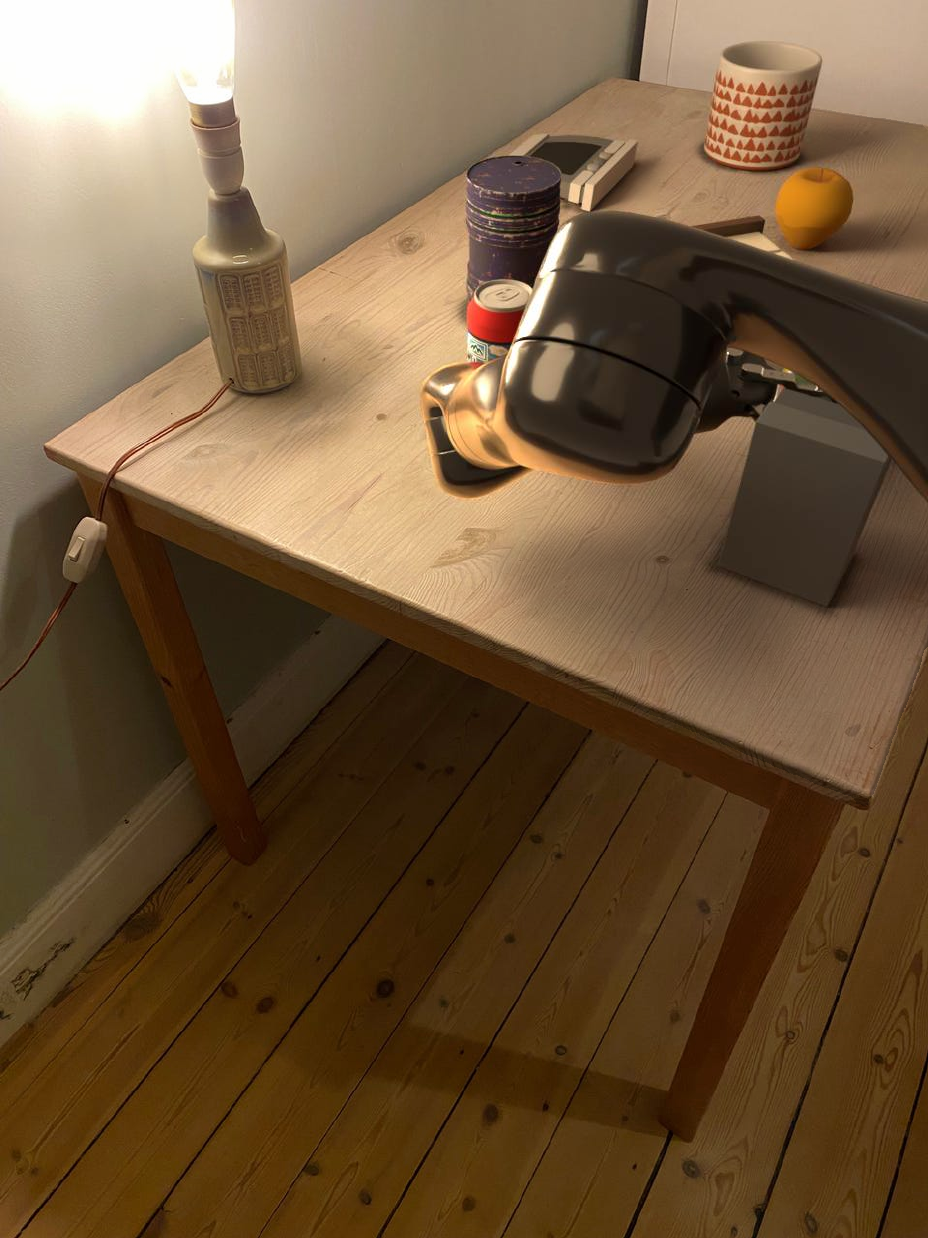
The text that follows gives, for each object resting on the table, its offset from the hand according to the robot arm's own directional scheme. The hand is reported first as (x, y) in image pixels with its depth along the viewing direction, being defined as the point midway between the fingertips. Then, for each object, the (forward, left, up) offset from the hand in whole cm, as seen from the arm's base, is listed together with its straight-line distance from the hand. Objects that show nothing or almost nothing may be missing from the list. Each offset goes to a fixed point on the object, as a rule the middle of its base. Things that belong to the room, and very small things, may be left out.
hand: (829, 362), depth 79 cm
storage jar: (+36, -8, -9) cm, 38 cm away
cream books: (+11, -7, -9) cm, 15 cm away
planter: (+29, -66, -9) cm, 72 cm away
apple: (+13, -41, -9) cm, 44 cm away
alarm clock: (+49, -44, -9) cm, 66 cm away
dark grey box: (-4, +16, -9) cm, 19 cm away
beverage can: (+27, +9, -9) cm, 30 cm away
